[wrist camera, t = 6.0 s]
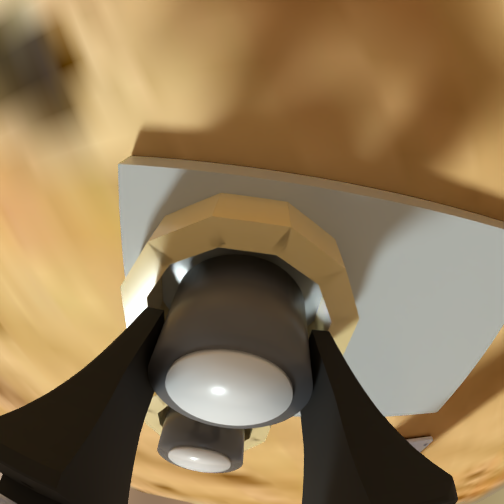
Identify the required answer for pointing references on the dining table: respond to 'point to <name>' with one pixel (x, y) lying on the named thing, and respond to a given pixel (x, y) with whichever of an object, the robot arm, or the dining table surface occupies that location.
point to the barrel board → (386, 264)
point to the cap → (234, 345)
